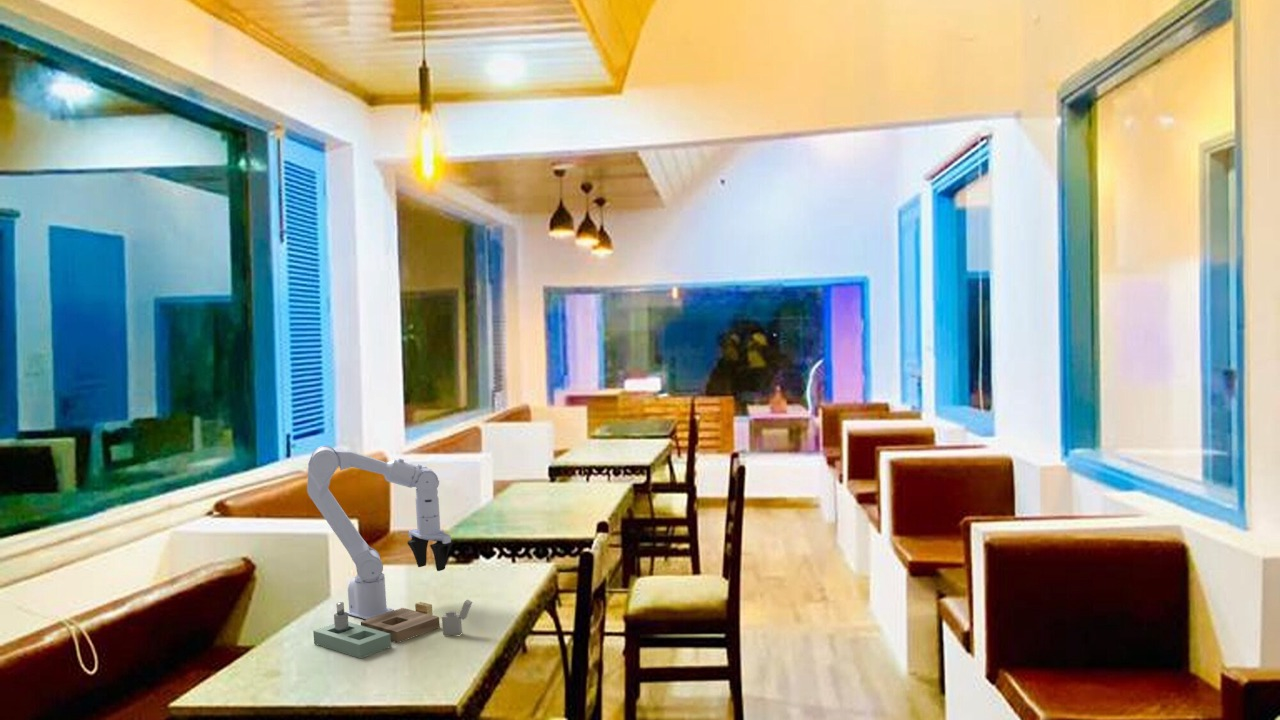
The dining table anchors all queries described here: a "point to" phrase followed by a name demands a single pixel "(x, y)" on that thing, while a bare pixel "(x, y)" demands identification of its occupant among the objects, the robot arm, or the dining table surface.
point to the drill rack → (353, 640)
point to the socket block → (403, 623)
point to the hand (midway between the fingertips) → (431, 568)
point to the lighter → (455, 620)
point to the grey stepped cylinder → (341, 619)
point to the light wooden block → (424, 608)
